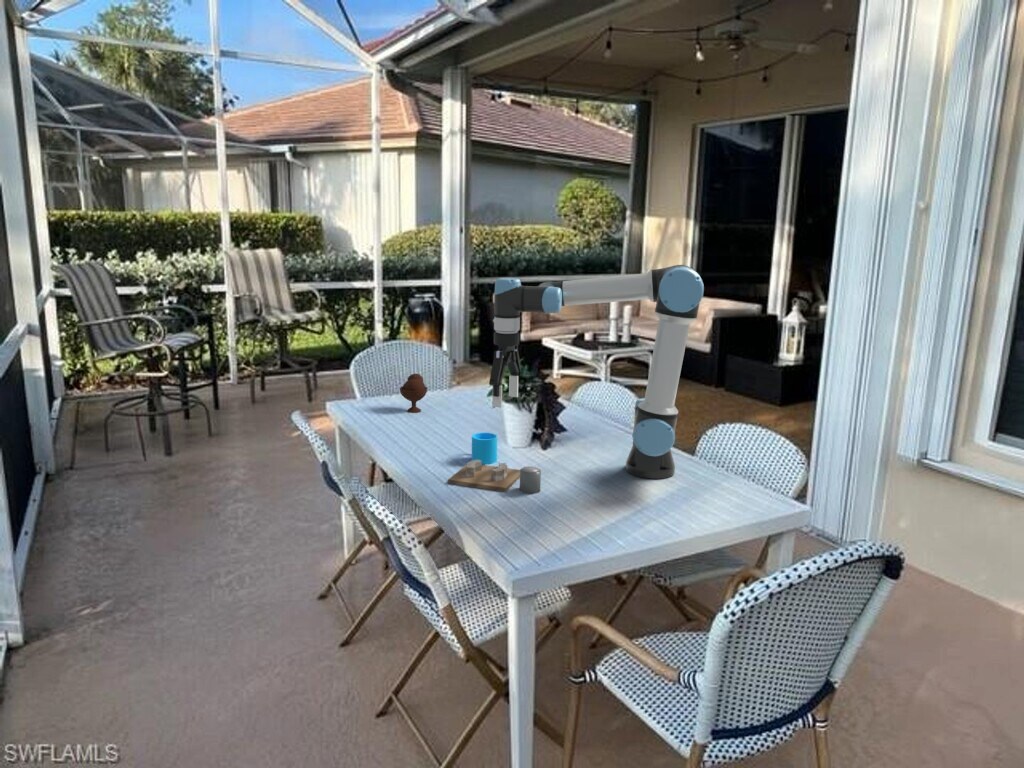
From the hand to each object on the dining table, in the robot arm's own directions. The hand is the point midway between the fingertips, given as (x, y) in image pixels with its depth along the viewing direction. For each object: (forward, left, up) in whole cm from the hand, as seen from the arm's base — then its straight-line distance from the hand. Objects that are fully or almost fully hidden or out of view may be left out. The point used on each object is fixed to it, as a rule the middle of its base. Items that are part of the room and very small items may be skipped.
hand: (505, 401), depth 223 cm
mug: (+12, -11, -23) cm, 28 cm away
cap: (-11, +10, -23) cm, 28 cm away
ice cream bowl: (+58, -55, -23) cm, 83 cm away
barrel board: (+4, +6, -23) cm, 24 cm away
